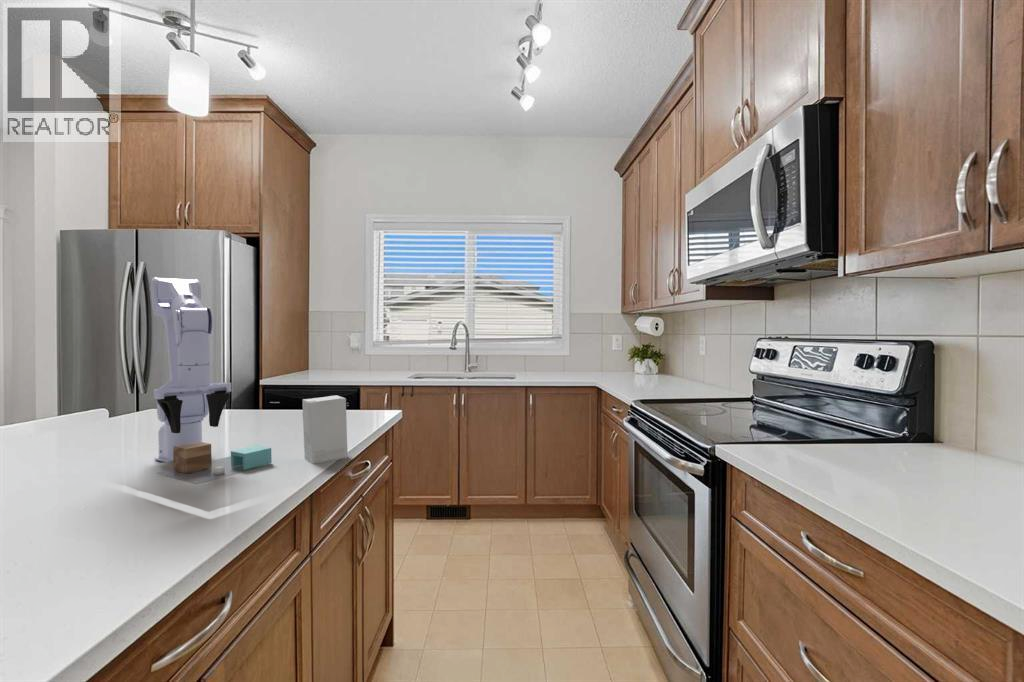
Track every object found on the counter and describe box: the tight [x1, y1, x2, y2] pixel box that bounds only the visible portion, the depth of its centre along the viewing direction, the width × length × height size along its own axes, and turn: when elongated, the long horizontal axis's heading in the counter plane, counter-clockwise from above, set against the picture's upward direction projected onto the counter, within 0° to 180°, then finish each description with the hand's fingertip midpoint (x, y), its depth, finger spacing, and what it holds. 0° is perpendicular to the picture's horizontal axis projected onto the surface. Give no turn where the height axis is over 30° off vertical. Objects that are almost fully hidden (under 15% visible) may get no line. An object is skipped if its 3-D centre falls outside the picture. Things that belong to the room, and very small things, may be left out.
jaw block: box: [172, 441, 213, 473], centre depth 105 cm, size 5×5×5 cm
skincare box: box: [302, 395, 349, 465], centre depth 114 cm, size 8×6×15 cm
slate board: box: [156, 455, 274, 485], centre depth 106 cm, size 15×16×4 cm
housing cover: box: [230, 445, 273, 470], centre depth 108 cm, size 5×6×3 cm
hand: (195, 429), depth 106 cm, fingers open, 7 cm apart
